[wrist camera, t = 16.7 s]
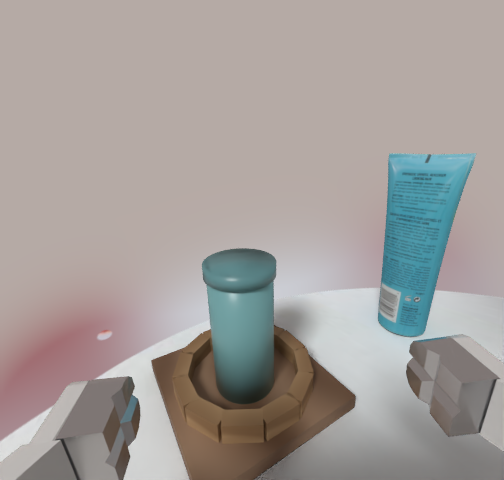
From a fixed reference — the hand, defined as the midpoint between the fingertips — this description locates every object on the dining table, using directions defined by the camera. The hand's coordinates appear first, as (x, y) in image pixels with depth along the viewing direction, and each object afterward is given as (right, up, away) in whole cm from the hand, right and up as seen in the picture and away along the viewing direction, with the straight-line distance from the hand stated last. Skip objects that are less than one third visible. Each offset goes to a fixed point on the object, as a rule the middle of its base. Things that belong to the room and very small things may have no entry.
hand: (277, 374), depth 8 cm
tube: (+17, -6, +24) cm, 30 cm away
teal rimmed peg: (-1, -8, +16) cm, 18 cm away
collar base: (-1, -9, +16) cm, 19 cm away
